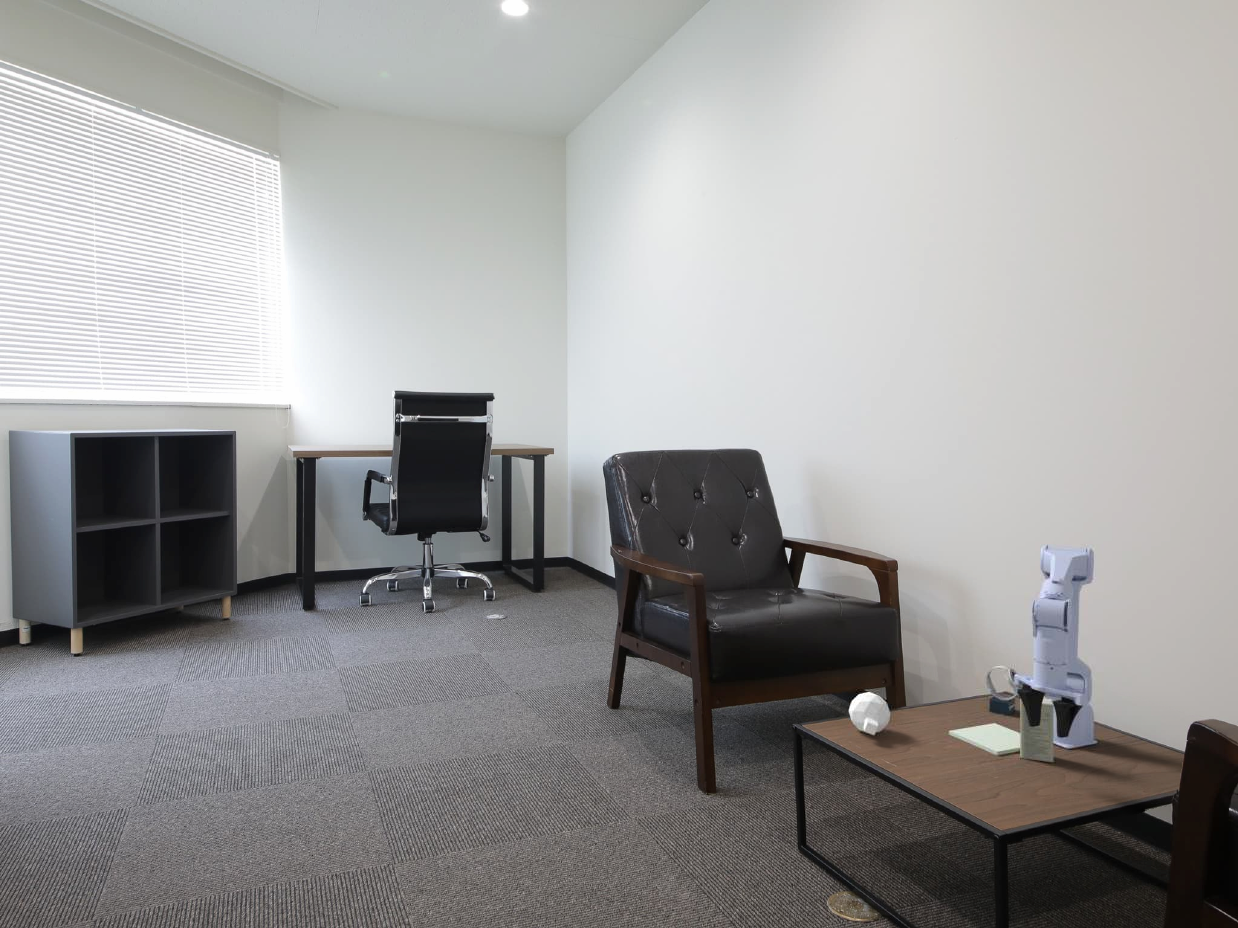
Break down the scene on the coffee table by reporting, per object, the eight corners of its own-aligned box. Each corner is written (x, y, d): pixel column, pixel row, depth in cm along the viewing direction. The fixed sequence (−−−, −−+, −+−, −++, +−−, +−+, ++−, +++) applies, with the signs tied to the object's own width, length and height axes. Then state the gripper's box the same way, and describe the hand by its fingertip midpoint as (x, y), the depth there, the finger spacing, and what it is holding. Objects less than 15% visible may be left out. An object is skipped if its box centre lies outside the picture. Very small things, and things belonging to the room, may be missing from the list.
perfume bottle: (843, 713, 190) (844, 738, 178) (856, 679, 188) (859, 702, 177) (879, 727, 188) (883, 753, 177) (893, 693, 186) (898, 717, 175)
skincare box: (1052, 756, 171) (1053, 698, 170) (1053, 763, 167) (1055, 704, 166) (1018, 750, 173) (1019, 694, 173) (1019, 757, 169) (1020, 700, 169)
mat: (994, 726, 188) (994, 723, 188) (1044, 746, 176) (1044, 742, 176) (949, 734, 183) (949, 730, 183) (997, 755, 170) (997, 751, 170)
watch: (1016, 717, 194) (1017, 672, 194) (981, 709, 200) (983, 665, 200) (1023, 712, 199) (1024, 667, 198) (989, 704, 204) (990, 661, 204)
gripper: (1003, 653, 161) (1002, 721, 161) (1069, 673, 147) (1067, 747, 148) (1029, 650, 163) (1027, 717, 164) (1096, 669, 150) (1094, 741, 150)
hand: (1048, 731), depth 156 cm, fingers open, 6 cm apart
